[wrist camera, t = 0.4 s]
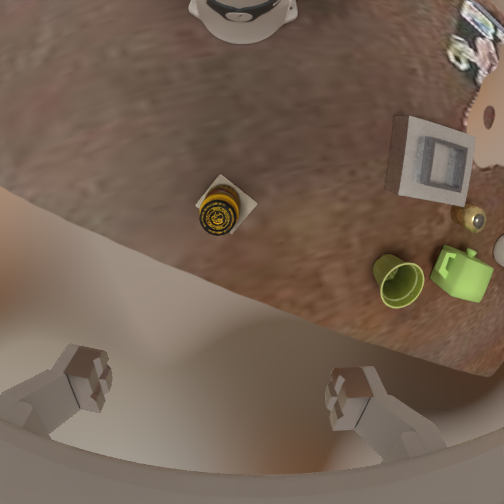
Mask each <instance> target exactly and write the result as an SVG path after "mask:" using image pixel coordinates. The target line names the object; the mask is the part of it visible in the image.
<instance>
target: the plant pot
mask: <svg viewBox="0 0 504 504" xmlns="http://www.w3.org/2000/svg"><path fill="white" fill-rule="evenodd" d="M394 269H396V270H395V271H394ZM373 275H374V277H375V279H376V281H377V283H378V285H379V287H380V295H381V298H382V300H383V302H384V303H385V304H386V305H387V306H389V307H391V308H402V307H404V306H407V305H409V304H410V303H412V302H413V301H414V300H415V299H416V298H417V297H418V295H419V294H420V292H421V291H422V288H423V285H424V274H423V271H422V269H421V268H420V267H419V266H418V265H416V264H414V263H411V262H405V261H403V260H401V259H399V258H398V257H396V256H394V255H392V254H385V255H382V256H381V257H380V258H379V259H378V260H376V262H375V263H374V266H373Z"/></svg>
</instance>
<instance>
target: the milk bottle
mask: <svg viewBox="0 0 504 504" xmlns="http://www.w3.org/2000/svg"><path fill="white" fill-rule="evenodd" d="M493 256H494V259H495V261H496V262H498V263H499V264H500V265H502V266H503V267H504V235H502V236H501V237H500V238H499V239H498V240H497V242H496V244H495V246H494V250H493Z"/></svg>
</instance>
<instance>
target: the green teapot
mask: <svg viewBox="0 0 504 504" xmlns="http://www.w3.org/2000/svg"><path fill="white" fill-rule="evenodd" d="M476 253H477V252H476V251H474V250H472V249H470V248H467V253H466V252H463V251H460V250H458V249H455V248H453V247H450V246H447V245H444V246H443V248H442V250H441V252H440V254H439V256H438V259H437V261H436V263H435V265H434V268H433V270H432V273H431V276H430V279H431V280H432V281H434V282H435V283H436V284H437V285H438V286H440V287H441V288H442V289H443V290H444V291H446V292H447V293H448V294H449V295H450V296H453V297H457V298H461V299H465V300H469V301H473V302H477V303H479V302H480V301H481V299H482V297H483V295H484V293H485V290H486V288H487V286H488V283H489V281H490V278H491V275H492V273H493V270H494V269H493V268H492V267H490V266H489V265H487V264H486V263H484V262H482V261H481V260H479V259H477V258H476V257H474V256H475V255H476Z"/></svg>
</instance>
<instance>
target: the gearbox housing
mask: <svg viewBox="0 0 504 504" xmlns="http://www.w3.org/2000/svg"><path fill="white" fill-rule="evenodd" d="M474 146H475V137H473V136H471V135H468V134H465V133H463V132H460V131H457V130H454V129H451V128H448V127H445V126H442V125H439V124H436V123H433V122H429V121H426V120H423V119H419V118H416V117H412V116H394V120H393V129H392V138H391V146H390V154H389V161H388V168H387V175H386V181H385V189H387V190H389V191H391V192H393V193H395V194H397V195H402V196H408V197H413V198H419V199H425V200H430V201H436V202H441V203H446V204H451V205H456V206H461V207H464V206H465V201H466V196H467V191H468V186H469V180H470V174H471V168H472V161H473V154H474Z"/></svg>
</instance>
